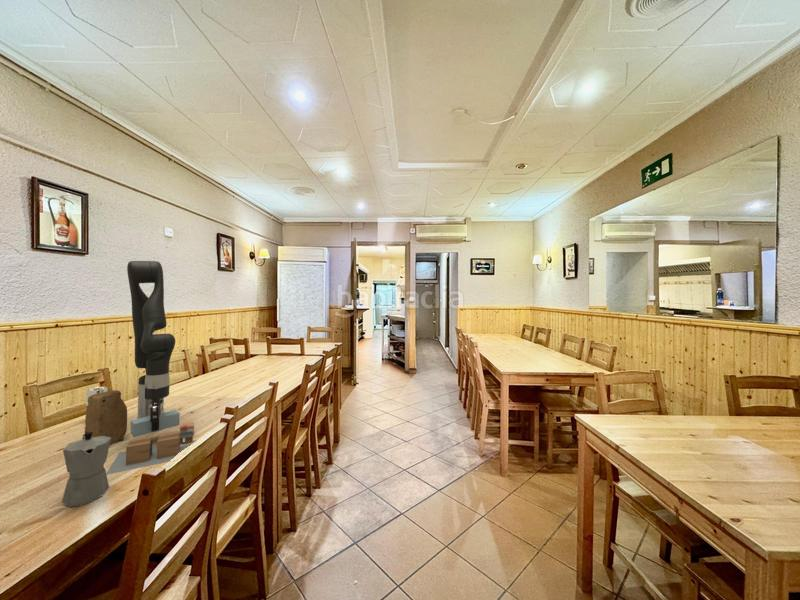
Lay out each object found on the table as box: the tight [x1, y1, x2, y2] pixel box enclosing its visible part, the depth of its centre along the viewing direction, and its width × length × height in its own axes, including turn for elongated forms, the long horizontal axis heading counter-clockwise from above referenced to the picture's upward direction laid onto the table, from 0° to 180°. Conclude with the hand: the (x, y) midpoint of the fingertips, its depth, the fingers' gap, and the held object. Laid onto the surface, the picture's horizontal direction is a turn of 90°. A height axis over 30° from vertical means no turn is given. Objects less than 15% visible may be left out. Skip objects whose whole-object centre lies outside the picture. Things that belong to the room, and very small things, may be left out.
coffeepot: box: [61, 432, 111, 508], centre depth 84 cm, size 15×9×18 cm, turn 50°
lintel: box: [130, 409, 181, 438], centre depth 116 cm, size 5×14×5 cm, turn 142°
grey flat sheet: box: [106, 439, 190, 476], centre depth 106 cm, size 16×22×1 cm
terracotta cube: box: [179, 421, 195, 436], centre depth 121 cm, size 4×4×5 cm
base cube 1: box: [125, 435, 154, 465], centre depth 103 cm, size 6×6×6 cm
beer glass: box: [85, 386, 109, 407], centre depth 134 cm, size 7×7×15 cm
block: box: [84, 389, 128, 446], centre depth 114 cm, size 11×8×20 cm
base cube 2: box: [156, 431, 180, 459], centre depth 107 cm, size 6×6×6 cm
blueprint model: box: [178, 425, 196, 446], centre depth 114 cm, size 4×7×7 cm, turn 122°
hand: (156, 427), depth 117 cm, fingers closed on lintel, 6 cm apart
